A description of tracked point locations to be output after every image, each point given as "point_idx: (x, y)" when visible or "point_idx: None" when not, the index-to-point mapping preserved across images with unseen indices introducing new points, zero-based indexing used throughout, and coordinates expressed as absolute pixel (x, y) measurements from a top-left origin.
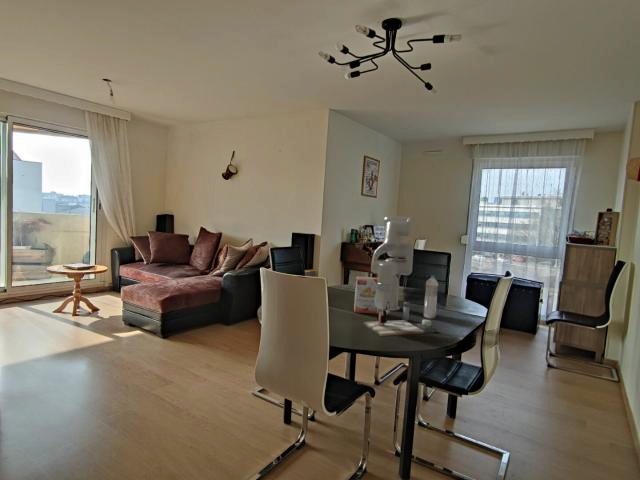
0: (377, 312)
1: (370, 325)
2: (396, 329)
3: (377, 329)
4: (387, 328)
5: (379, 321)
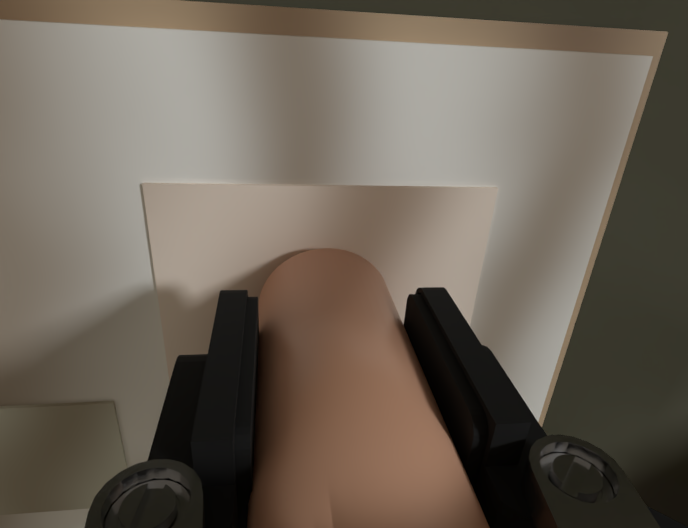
0: (574, 447)
1: (382, 52)
2: (50, 451)
3: (38, 67)
4: (127, 333)
5: (312, 293)
